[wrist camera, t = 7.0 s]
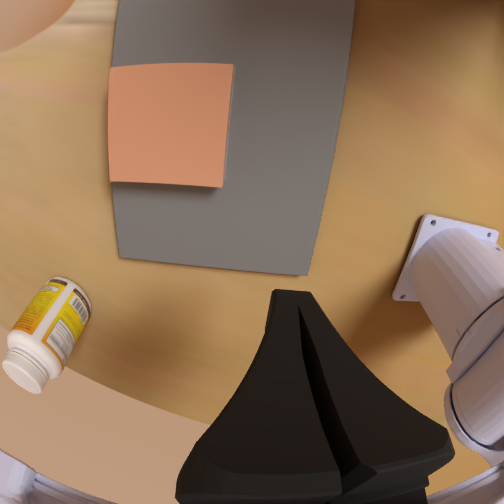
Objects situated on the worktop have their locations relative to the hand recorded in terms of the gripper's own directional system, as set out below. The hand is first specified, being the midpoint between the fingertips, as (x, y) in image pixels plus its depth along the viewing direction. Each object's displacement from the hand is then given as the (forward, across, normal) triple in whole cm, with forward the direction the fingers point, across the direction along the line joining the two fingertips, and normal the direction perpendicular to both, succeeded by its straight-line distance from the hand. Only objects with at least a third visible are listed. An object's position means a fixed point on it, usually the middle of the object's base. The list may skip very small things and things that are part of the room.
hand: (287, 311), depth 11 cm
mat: (+10, +4, -5) cm, 12 cm away
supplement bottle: (+11, +18, +11) cm, 24 cm away
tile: (+9, +3, -5) cm, 11 cm away
